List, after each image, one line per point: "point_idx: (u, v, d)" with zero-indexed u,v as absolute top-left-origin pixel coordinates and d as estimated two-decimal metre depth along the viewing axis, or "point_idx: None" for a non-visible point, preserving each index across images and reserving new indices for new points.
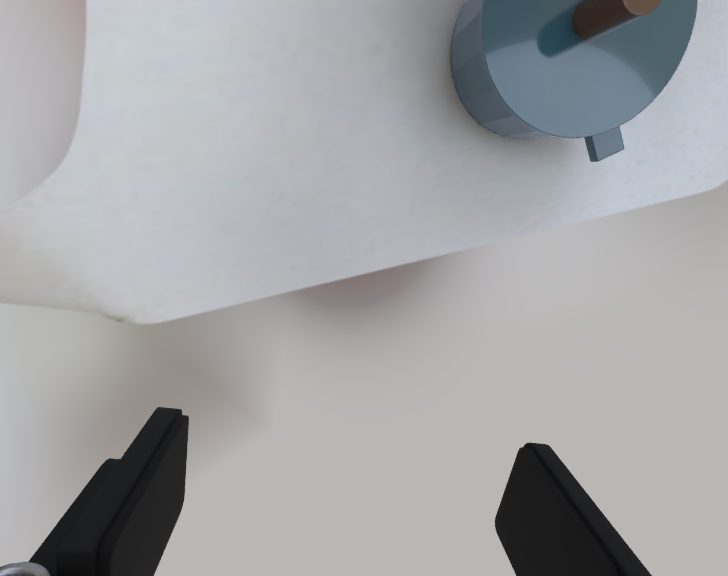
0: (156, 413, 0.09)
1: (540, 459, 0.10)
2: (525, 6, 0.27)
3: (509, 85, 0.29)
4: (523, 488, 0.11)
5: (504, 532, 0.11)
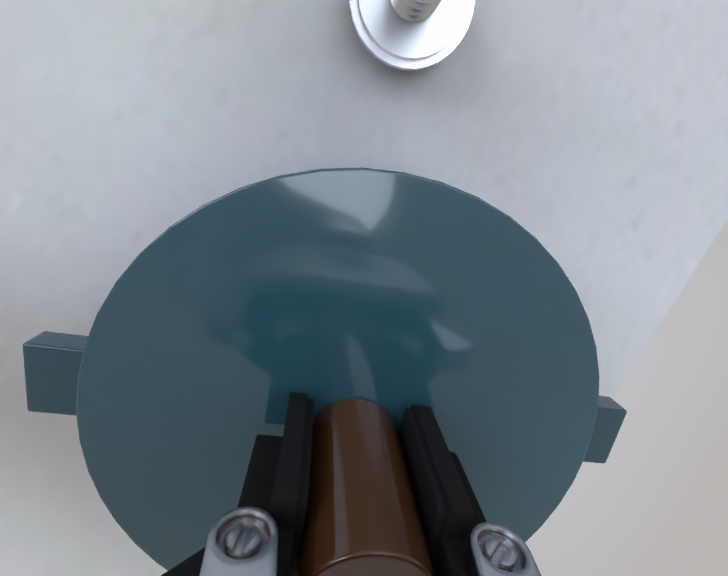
0: (292, 396, 0.11)
1: (417, 418, 0.11)
2: None
3: None
4: (404, 446, 0.11)
5: None
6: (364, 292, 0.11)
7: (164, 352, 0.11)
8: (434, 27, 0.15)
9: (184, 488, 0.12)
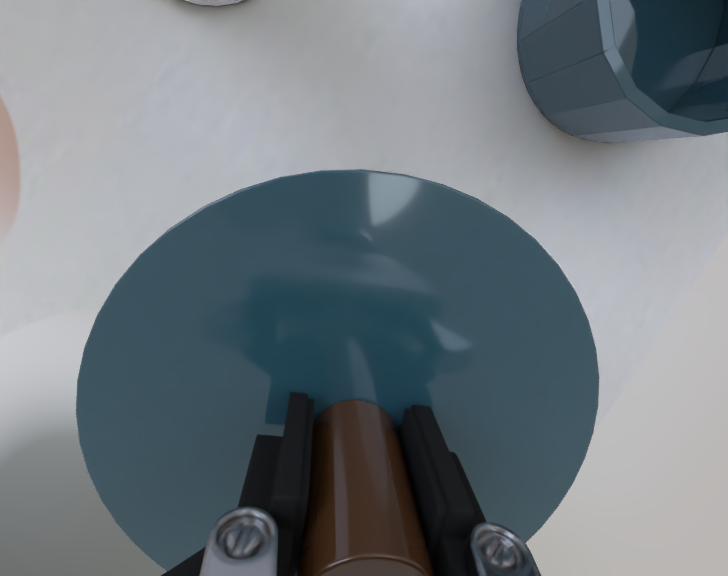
0: (292, 396, 0.11)
1: (416, 418, 0.11)
2: None
3: None
4: (403, 446, 0.11)
5: None
6: (364, 294, 0.11)
7: (164, 353, 0.11)
8: None
9: (184, 489, 0.12)
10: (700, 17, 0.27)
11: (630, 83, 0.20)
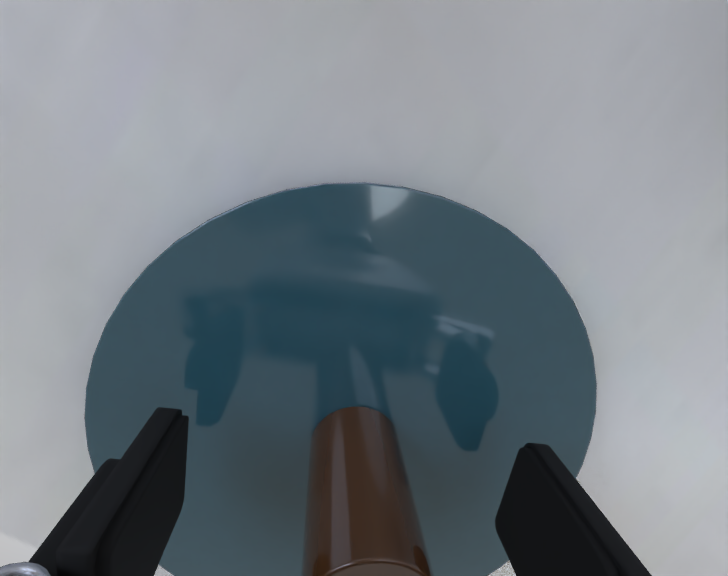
0: (156, 413, 0.09)
1: (540, 459, 0.10)
2: (258, 541, 0.13)
3: None
4: (523, 488, 0.11)
5: (504, 532, 0.11)
6: (366, 303, 0.11)
7: (171, 361, 0.11)
8: None
9: (189, 494, 0.12)
10: None
11: None
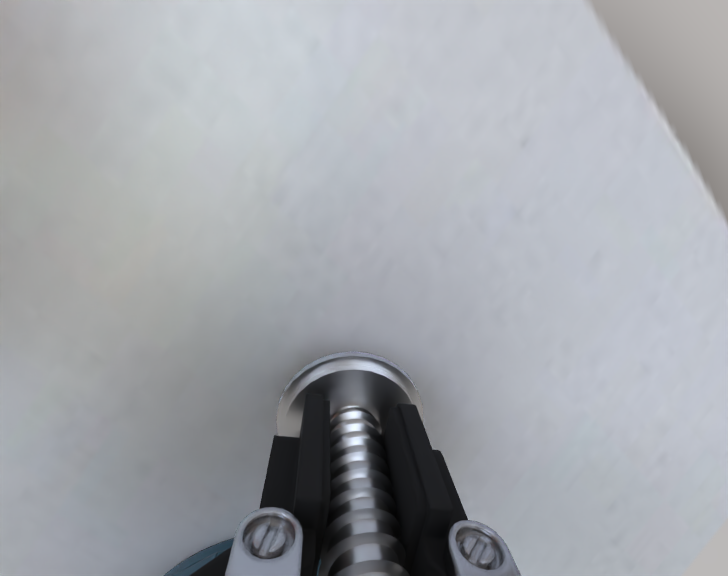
0: (308, 398, 0.11)
1: (401, 416, 0.11)
2: None
3: None
4: (388, 444, 0.11)
5: None
6: None
7: None
8: None
9: None
10: None
11: None
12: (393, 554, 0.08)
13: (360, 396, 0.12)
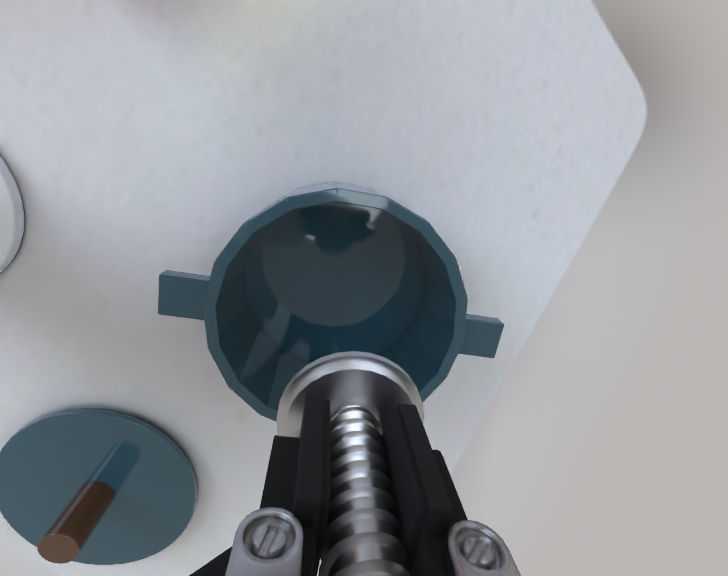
0: (308, 398, 0.11)
1: (401, 416, 0.11)
2: None
3: (117, 556, 0.35)
4: (388, 444, 0.11)
5: None
6: (90, 447, 0.32)
7: (22, 467, 0.32)
8: None
9: (35, 513, 0.33)
10: (404, 275, 0.30)
11: (260, 405, 0.24)
12: (394, 554, 0.08)
13: (361, 396, 0.12)
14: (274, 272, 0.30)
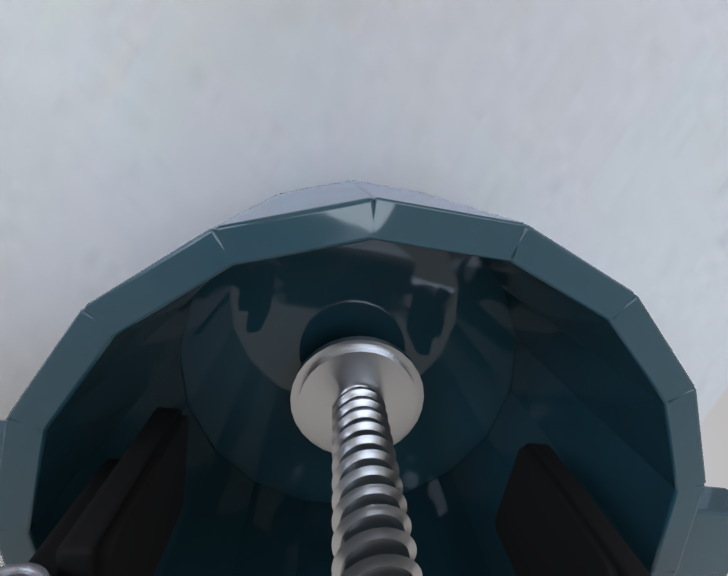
0: (156, 413, 0.09)
1: (540, 459, 0.10)
2: None
3: None
4: (523, 488, 0.11)
5: (504, 532, 0.11)
6: None
7: None
8: None
9: None
10: (478, 354, 0.16)
11: None
12: (396, 503, 0.09)
13: (366, 376, 0.14)
14: (236, 353, 0.16)
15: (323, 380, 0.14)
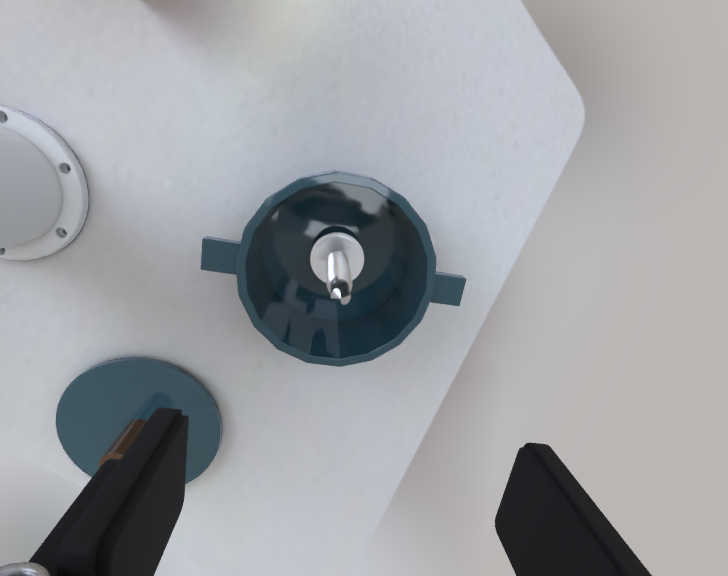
0: (156, 413, 0.09)
1: (540, 459, 0.10)
2: None
3: None
4: (523, 488, 0.11)
5: (504, 532, 0.11)
6: (136, 390, 0.39)
7: (80, 406, 0.39)
8: None
9: (89, 446, 0.40)
10: (391, 247, 0.38)
11: (277, 341, 0.31)
12: None
13: (340, 247, 0.35)
14: (286, 244, 0.37)
15: (323, 248, 0.35)
